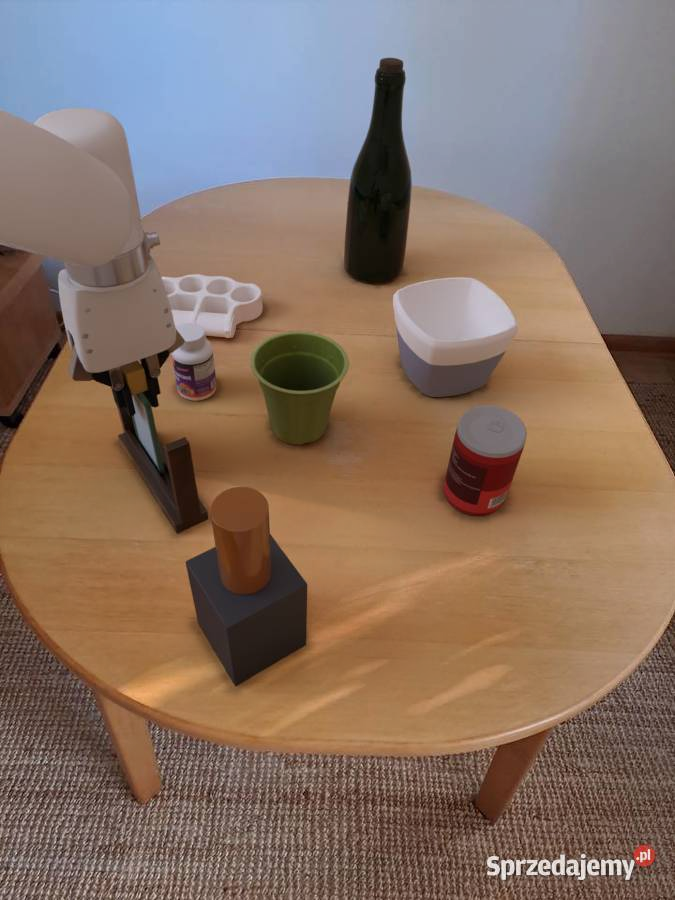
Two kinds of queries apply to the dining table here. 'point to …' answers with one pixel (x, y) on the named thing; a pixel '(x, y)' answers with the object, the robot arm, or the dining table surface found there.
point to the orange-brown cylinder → (242, 539)
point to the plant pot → (299, 382)
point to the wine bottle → (380, 186)
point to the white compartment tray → (212, 302)
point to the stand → (250, 615)
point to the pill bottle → (194, 364)
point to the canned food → (483, 459)
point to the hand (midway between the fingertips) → (139, 403)
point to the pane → (143, 412)
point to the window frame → (167, 477)
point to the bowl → (451, 334)
